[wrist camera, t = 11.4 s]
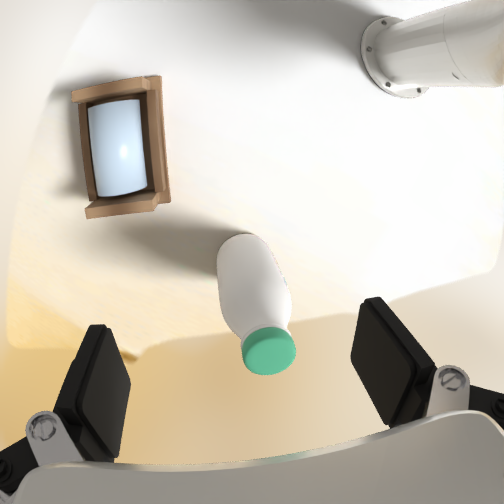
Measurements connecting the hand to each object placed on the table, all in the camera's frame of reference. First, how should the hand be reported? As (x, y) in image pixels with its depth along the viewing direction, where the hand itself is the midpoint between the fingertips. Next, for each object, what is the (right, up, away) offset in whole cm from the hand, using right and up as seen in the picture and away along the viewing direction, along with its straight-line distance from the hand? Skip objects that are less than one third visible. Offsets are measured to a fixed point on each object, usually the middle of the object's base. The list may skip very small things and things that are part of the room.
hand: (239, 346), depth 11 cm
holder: (-15, +17, +24) cm, 33 cm away
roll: (-15, +16, +23) cm, 32 cm away
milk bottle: (-1, +3, +32) cm, 33 cm away
